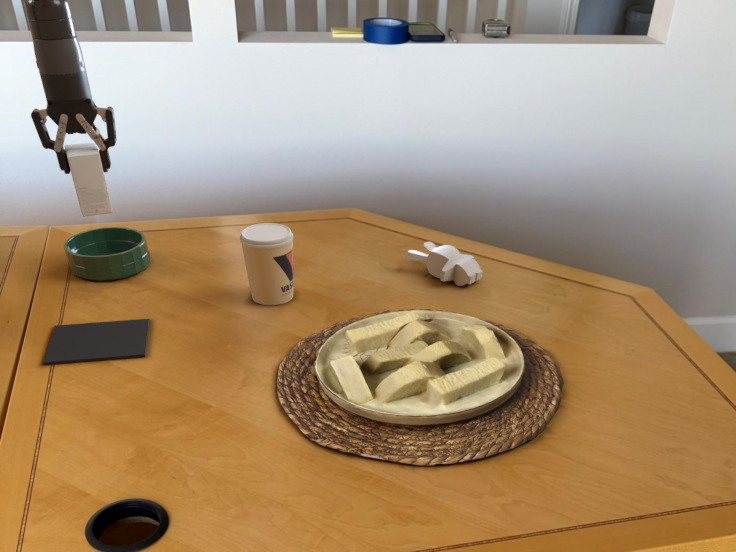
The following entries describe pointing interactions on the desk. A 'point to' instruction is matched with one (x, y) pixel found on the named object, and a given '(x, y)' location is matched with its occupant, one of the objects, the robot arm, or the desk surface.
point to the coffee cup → (269, 262)
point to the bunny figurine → (448, 263)
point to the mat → (97, 341)
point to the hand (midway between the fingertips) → (86, 171)
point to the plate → (419, 387)
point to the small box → (88, 179)
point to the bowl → (107, 253)
